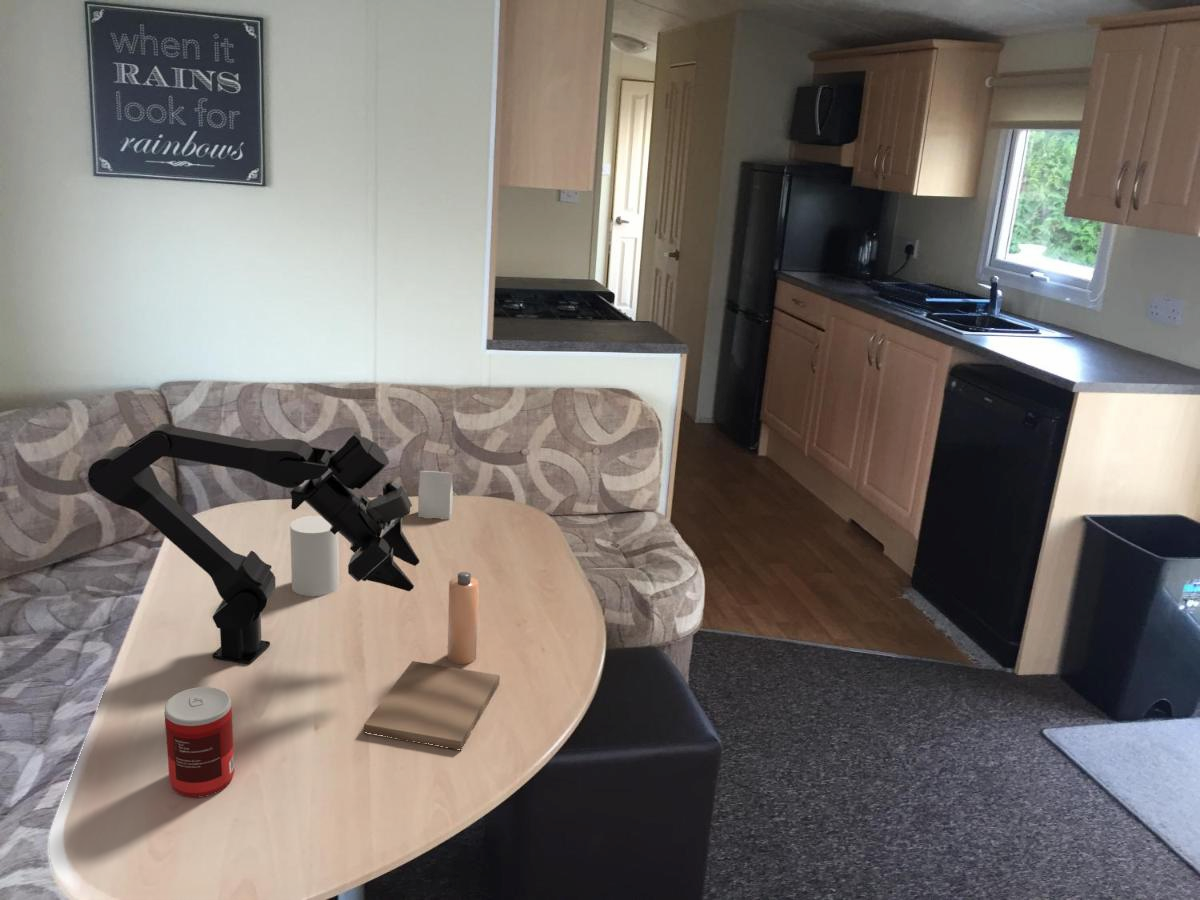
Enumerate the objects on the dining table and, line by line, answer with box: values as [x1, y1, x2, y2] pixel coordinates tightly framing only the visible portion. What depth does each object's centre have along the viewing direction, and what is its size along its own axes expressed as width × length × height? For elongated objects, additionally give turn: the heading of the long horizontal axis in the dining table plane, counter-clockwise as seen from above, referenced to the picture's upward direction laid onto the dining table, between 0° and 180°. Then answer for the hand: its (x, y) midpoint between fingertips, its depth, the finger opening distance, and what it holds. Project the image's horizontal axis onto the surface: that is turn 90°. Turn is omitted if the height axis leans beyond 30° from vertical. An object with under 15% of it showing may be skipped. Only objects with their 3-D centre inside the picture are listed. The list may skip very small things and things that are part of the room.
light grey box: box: [417, 470, 454, 520], centre depth 214 cm, size 4×7×10 cm, turn 90°
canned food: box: [164, 686, 235, 798], centre depth 124 cm, size 8×8×11 cm
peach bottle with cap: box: [446, 571, 480, 665], centre depth 156 cm, size 5×5×14 cm
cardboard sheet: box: [363, 660, 501, 751], centre depth 144 cm, size 18×14×2 cm
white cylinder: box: [289, 515, 340, 597], centre depth 177 cm, size 8×8×12 cm
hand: (414, 576), depth 154 cm, fingers open, 9 cm apart
